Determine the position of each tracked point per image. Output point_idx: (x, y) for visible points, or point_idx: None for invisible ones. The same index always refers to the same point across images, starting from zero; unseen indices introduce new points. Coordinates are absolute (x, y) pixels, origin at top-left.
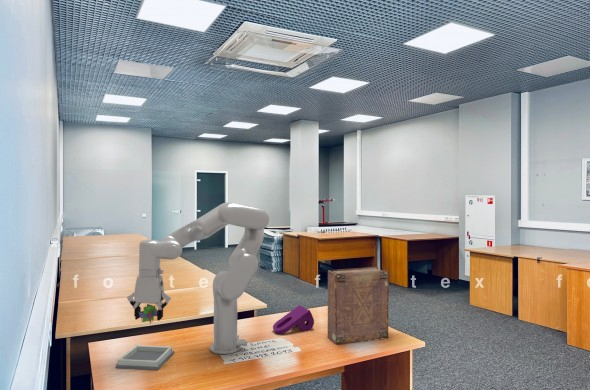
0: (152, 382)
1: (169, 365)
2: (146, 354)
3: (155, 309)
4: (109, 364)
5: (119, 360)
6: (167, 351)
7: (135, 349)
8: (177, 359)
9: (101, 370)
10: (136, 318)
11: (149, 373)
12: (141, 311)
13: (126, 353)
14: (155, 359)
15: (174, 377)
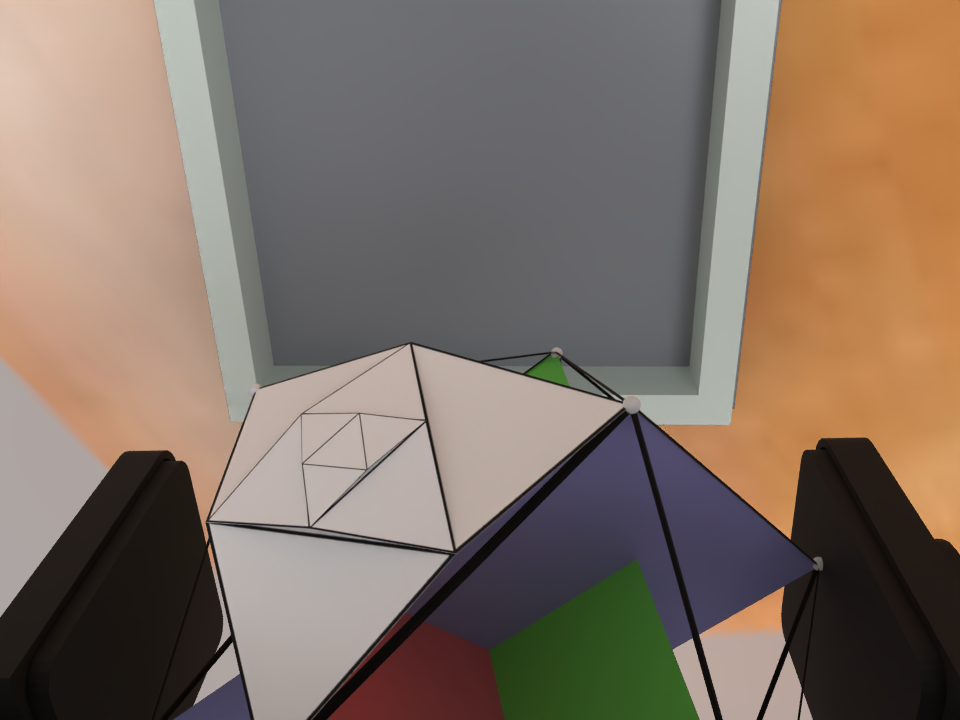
0: (760, 603)
1: (826, 266)
2: (419, 65)
3: (601, 426)
4: (111, 315)
5: None
6: (764, 99)
7: (205, 17)
8: (891, 80)
9: (138, 444)
10: (204, 649)
11: None
12: (220, 697)
13: (205, 237)
14: (618, 209)
15: (952, 510)
